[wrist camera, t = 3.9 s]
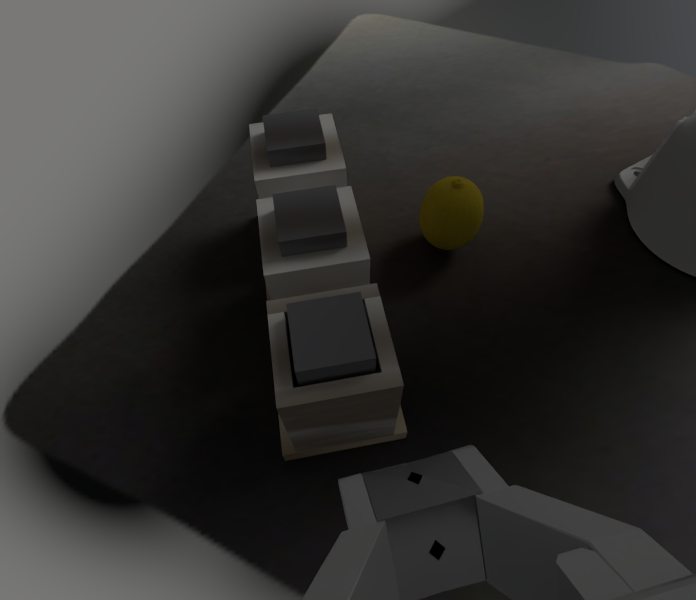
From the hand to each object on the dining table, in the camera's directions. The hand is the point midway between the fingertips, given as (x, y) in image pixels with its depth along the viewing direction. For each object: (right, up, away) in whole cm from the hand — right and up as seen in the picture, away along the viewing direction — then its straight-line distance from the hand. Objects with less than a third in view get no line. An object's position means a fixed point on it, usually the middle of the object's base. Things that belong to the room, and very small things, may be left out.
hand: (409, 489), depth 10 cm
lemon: (+8, +9, +34) cm, 36 cm away
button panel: (-4, +3, +30) cm, 31 cm away
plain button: (-2, -1, +21) cm, 21 cm away
